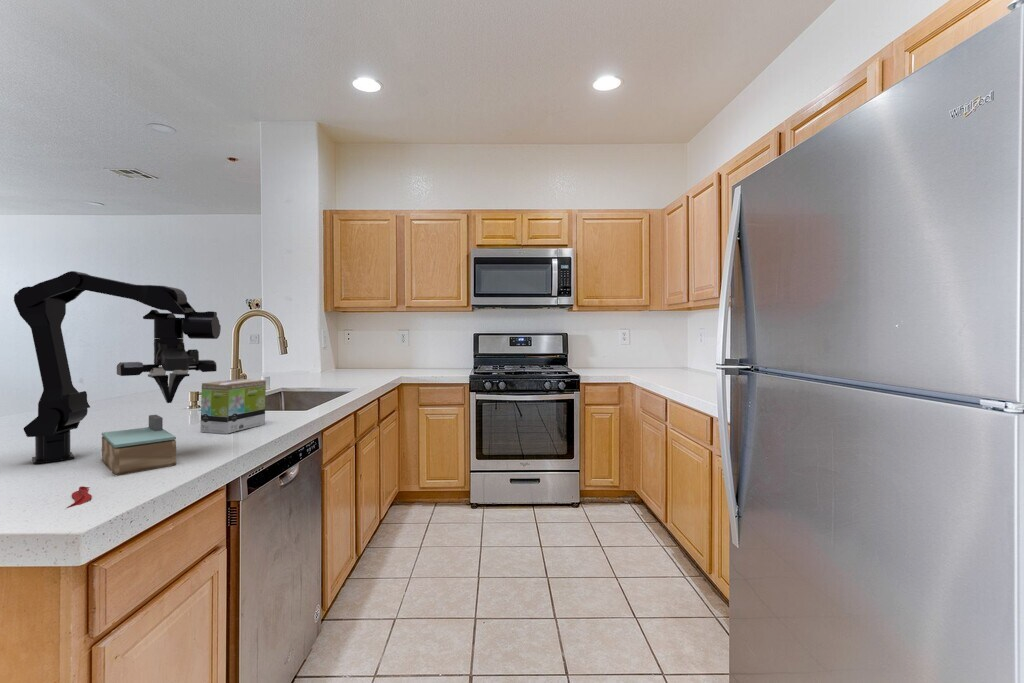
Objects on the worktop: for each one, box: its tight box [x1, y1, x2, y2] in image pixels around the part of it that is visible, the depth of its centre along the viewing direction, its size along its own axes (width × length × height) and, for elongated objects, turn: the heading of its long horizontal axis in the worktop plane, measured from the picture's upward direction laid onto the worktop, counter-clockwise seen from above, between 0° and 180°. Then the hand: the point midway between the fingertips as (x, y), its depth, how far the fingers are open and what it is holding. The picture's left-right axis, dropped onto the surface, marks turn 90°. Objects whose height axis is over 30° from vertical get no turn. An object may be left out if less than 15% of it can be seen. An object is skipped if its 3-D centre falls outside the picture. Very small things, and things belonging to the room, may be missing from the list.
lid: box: [101, 414, 177, 448], centre depth 103 cm, size 16×10×4 cm, turn 49°
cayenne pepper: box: [66, 486, 93, 509], centre depth 82 cm, size 12×5×2 cm, turn 20°
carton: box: [101, 436, 177, 476], centre depth 103 cm, size 16×10×6 cm, turn 49°
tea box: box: [199, 378, 267, 435], centre depth 140 cm, size 15×10×15 cm
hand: (169, 402), depth 110 cm, fingers closed
